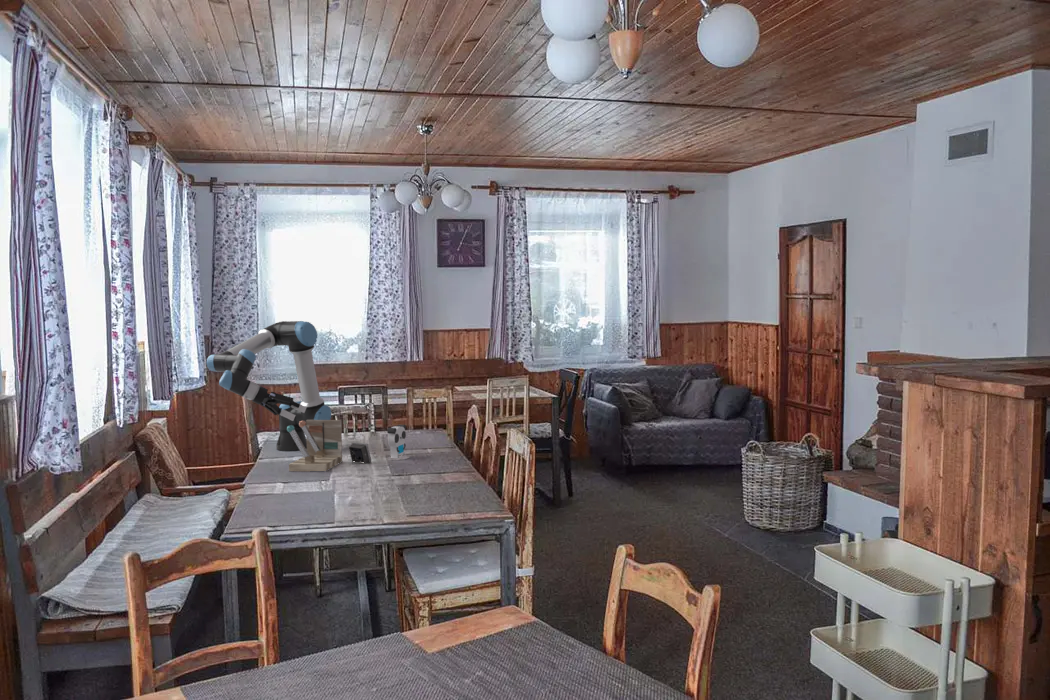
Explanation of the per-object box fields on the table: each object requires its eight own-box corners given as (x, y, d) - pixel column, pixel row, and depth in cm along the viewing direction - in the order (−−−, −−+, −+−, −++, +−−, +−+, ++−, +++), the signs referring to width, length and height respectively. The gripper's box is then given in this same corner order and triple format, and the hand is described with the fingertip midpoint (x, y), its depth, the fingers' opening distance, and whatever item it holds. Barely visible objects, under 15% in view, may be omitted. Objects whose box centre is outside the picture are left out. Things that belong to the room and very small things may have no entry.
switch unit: (308, 461, 376) (307, 419, 375) (342, 461, 375) (341, 419, 373) (289, 471, 353) (288, 427, 352) (325, 471, 352) (324, 427, 351)
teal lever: (307, 460, 358) (287, 426, 358) (313, 457, 357) (293, 423, 357) (304, 462, 354) (284, 427, 354) (310, 458, 354) (290, 424, 354)
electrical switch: (372, 462, 372) (370, 442, 370) (363, 465, 367) (362, 445, 366) (356, 460, 377) (355, 440, 375) (348, 463, 372) (346, 443, 371)
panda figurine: (402, 461, 374) (401, 428, 373) (379, 460, 377) (379, 427, 377) (413, 456, 385) (413, 424, 384) (392, 455, 389) (391, 423, 388)
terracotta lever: (318, 455, 371) (299, 422, 371) (324, 451, 371) (304, 418, 371) (315, 456, 368) (296, 423, 368) (321, 452, 368) (302, 419, 368)
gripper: (243, 408, 364) (286, 428, 373) (261, 392, 345) (306, 414, 354) (249, 393, 368) (292, 414, 377) (268, 377, 349) (313, 399, 358)
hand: (299, 414), depth 365 cm, fingers open, 13 cm apart
